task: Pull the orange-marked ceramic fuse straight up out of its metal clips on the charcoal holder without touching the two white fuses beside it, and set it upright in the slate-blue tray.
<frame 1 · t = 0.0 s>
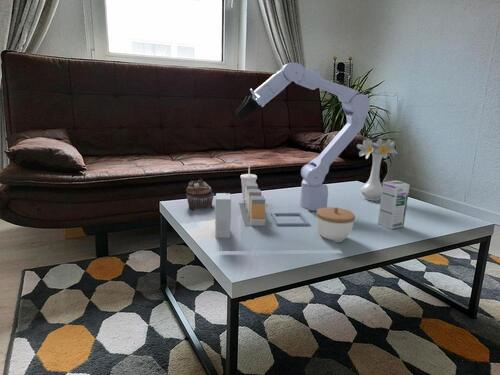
hand: (237, 116, 116), 32 cm above the table, tool tilted 50°, fingers open, 7 cm apart
cupcake: (200, 207, 123), on the table
syrup box: (390, 225, 113), on the table
lidded jar: (332, 238, 100), on the table
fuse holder: (253, 215, 116), on the table
smoothie: (247, 200, 133), on the table
tray: (289, 222, 112), on the table
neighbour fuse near: (253, 213, 116), point 1 cm above the table, touching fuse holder
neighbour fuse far: (250, 206, 124), point 1 cm above the table, touching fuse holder
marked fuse: (256, 222, 108), point 1 cm above the table, touching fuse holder
skincare box: (222, 236, 99), on the table
flower vase: (369, 199, 142), on the table
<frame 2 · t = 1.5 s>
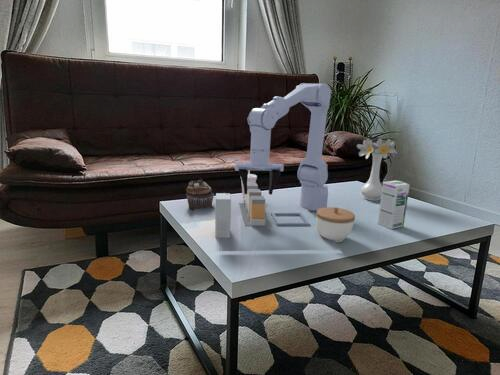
hand: (258, 193, 106), 10 cm above the table, tool pointing down, fingers open, 7 cm apart
nothing on the table moved.
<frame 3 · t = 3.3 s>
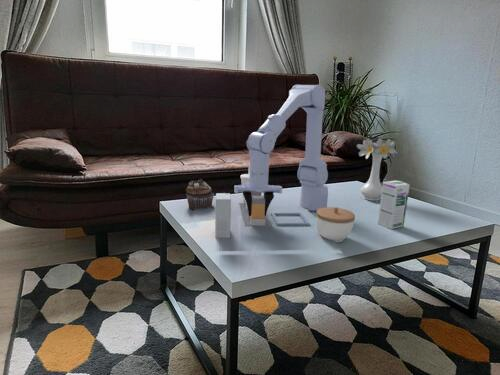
hand: (257, 214, 108), 3 cm above the table, tool pointing down, fingers closed on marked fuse, 4 cm apart
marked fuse: (256, 222, 108), point 1 cm above the table, touching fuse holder, gripper
everything else where it was.
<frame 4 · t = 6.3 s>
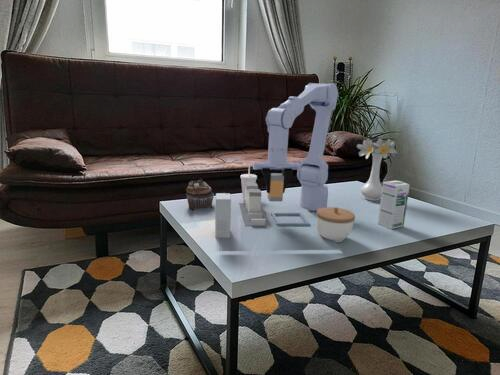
hand: (275, 192, 107), 10 cm above the table, tool pointing down, fingers closed on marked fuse, 4 cm apart
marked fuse: (274, 199, 108), point 8 cm above the table, touching gripper
everything else where it was.
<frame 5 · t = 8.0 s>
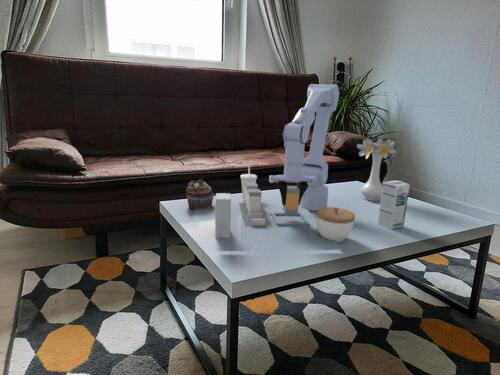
hand: (290, 204, 110), 6 cm above the table, tool pointing down, fingers closed on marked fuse, 4 cm apart
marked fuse: (290, 211, 111), point 4 cm above the table, touching gripper
everything else where it was.
when the fingers open (4 cm above the table, at t = 9.3 s): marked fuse drops 1 cm, resting on tray.
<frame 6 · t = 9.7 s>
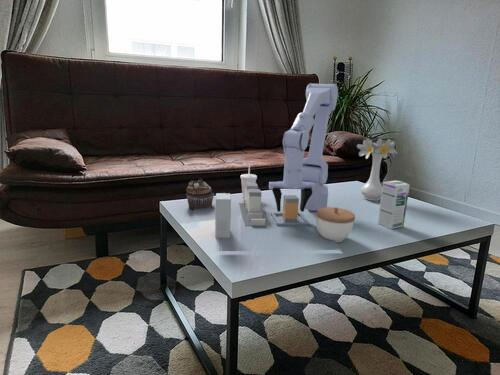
hand: (290, 210, 111), 4 cm above the table, tool pointing down, fingers open, 7 cm apart
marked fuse: (289, 220, 111), resting on tray
everything else where it was.
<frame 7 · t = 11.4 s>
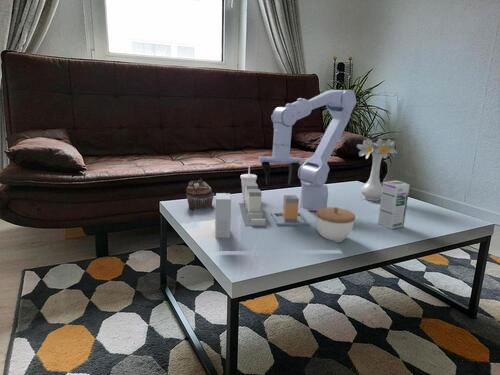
hand: (278, 184, 117), 10 cm above the table, tool pointing down, fingers open, 7 cm apart
nothing on the table moved.
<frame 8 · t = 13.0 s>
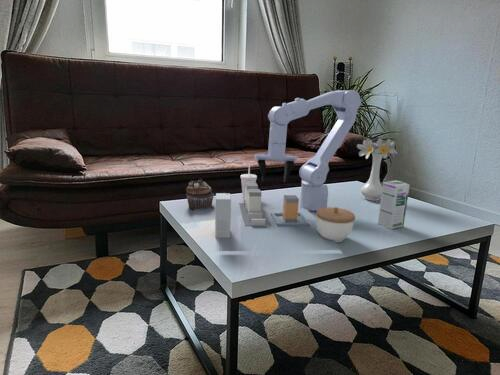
hand: (274, 181, 120), 10 cm above the table, tool pointing down, fingers open, 7 cm apart
nothing on the table moved.
at the end: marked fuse 0.0 cm off-centre on the tray, point 0.5 cm above the tray's base; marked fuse tilted 0°; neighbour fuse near moved 0.0 cm from its start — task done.
